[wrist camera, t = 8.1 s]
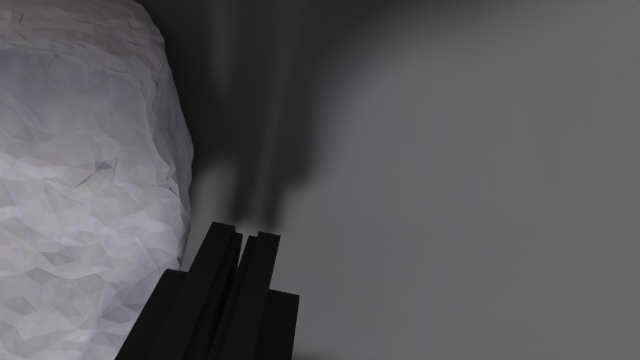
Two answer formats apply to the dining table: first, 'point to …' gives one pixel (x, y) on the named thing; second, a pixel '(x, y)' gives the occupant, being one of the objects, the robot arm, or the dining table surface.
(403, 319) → the dining table surface
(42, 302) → the stone block
